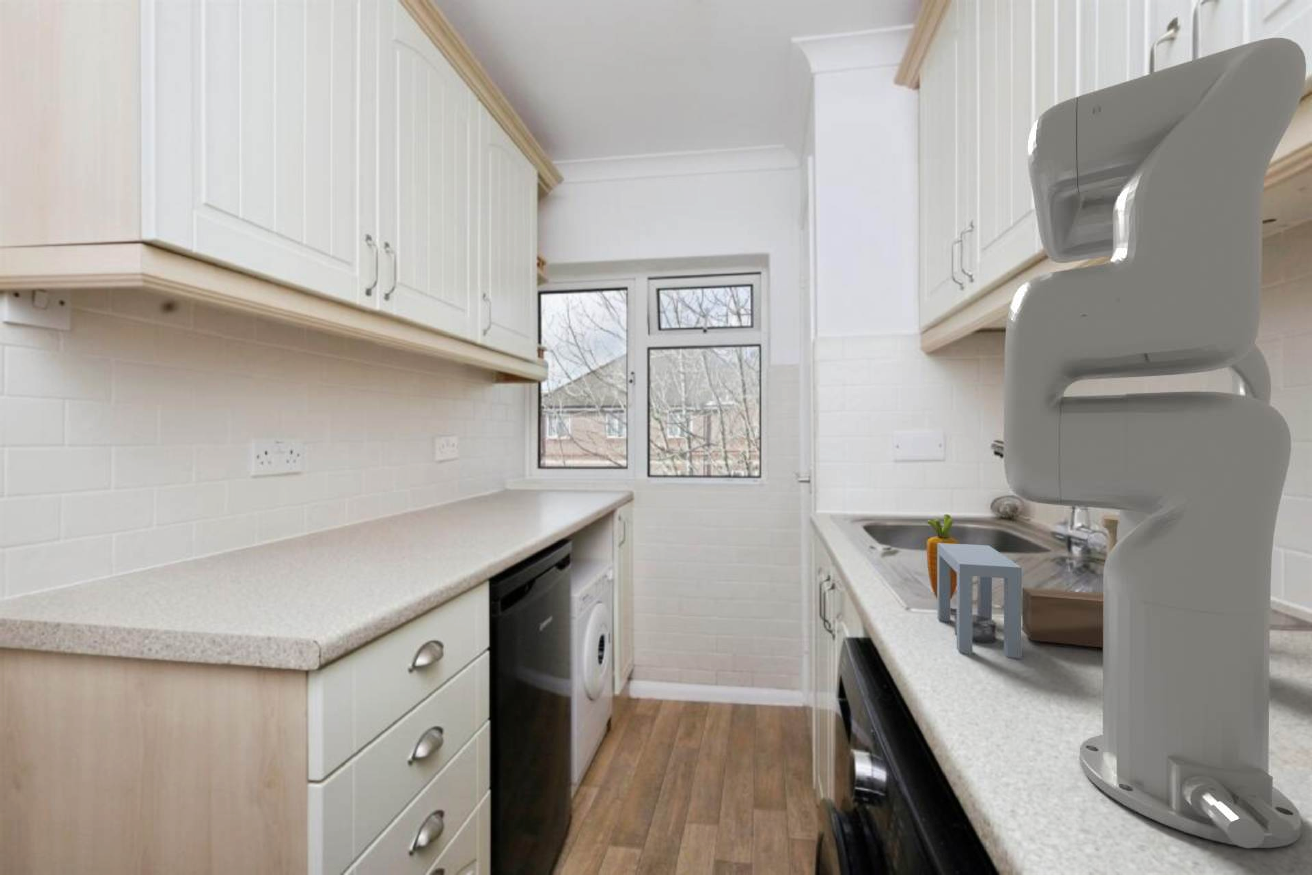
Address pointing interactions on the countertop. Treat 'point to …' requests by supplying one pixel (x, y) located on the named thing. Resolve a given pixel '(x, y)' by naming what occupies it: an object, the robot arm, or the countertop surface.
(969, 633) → the low shelf
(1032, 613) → the brown block
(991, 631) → the grey metal short cylinder
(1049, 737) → the countertop surface
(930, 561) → the carrot
